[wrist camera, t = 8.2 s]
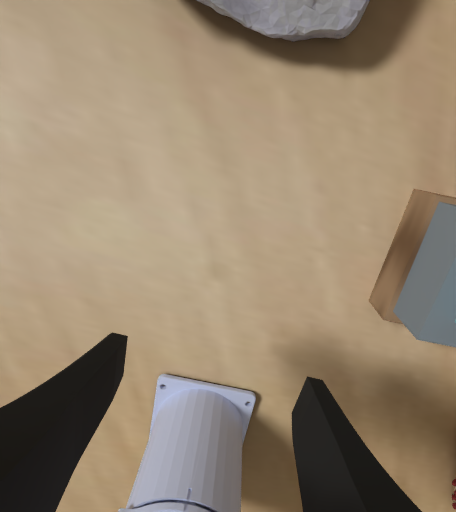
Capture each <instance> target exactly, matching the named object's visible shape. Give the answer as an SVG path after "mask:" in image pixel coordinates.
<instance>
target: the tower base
mask: <svg viewBox="0 0 456 512" xmlns="http://www.w3.org/2000/svg"><path fill="white" fill-rule="evenodd" d="M439 202H444V203H449V204H454V205H456V198H454V197H450V196H445V195H440V194H436V193H431V192H426V191H422V190H417V189H414V190H413V192H412V195H411V197H410V200H409V202H408V205H407V207H406V210H405V212H404V215H403V217H402V220H401V222H400V224H399V227H398V229H397V232H396V234H395V237H394V239H393V242H392V244H391V247H390V249H389V252H388V254H387V257H386V259H385V262H384V264H383V266H382V269H381V271H380V274H379V276H378V279H377V281H376V284H375V286H374V289H373V291H372V294H371V296H370V299H369V302H370V303H371V304H372V306H373V307H374V308H375V310H376V311H377V312H378V314H379V315H380V316H381V318H382V319H383V320H386V321H391V322H396V323H401V324H403V323H402V321H401V320H400V319H399V318H398V317H397V316H396V314H395V313H394V312H393V310H394V308H395V305H396V303H397V301H398V298H399V296H400V293H401V291H402V289H403V286H404V284H405V282H406V279H407V277H408V274H409V272H410V270H411V267H412V265H413V262H414V260H415V258H416V255H417V253H418V251H419V248H420V246H421V243H422V241H423V239H424V236H425V234H426V232H427V229H428V227H429V224H430V222H431V220H432V217H433V215H434V212H435V210H436V208H437V205H438V203H439Z"/></svg>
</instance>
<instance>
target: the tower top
mask: <svg viewBox="0 0 456 512" xmlns="http://www.w3.org/2000/svg"><path fill="white" fill-rule="evenodd" d="M393 312H394V313H395V314H396V316H397V317H398V318H399V319H400V320H401V321H402V323H403V324H404V325H405V326H406V327H407V329H408V330H409V331H410V332H411V333H412V334H413V336H414V337H415V338H416V339H417V340H422V341H427V342H432V343H437V344H442V345H447V346H452V347H456V323H455V320H456V205H454V204H449V203H444V202H439V203H438V205H437V208H436V210H435V212H434V215H433V217H432V220H431V222H430V224H429V227H428V229H427V232H426V234H425V236H424V239H423V241H422V243H421V246H420V248H419V251H418V253H417V255H416V258H415V260H414V262H413V265H412V267H411V270H410V272H409V274H408V277H407V279H406V282H405V284H404V286H403V289H402V291H401V293H400V296H399V298H398V301H397V303H396V305H395V308H394V310H393Z"/></svg>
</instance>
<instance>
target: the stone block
mask: <svg viewBox="0 0 456 512" xmlns="http://www.w3.org/2000/svg"><path fill="white" fill-rule="evenodd" d="M197 1H199V2H201V3H203V4H205V5H207V6H210V7H211V8H213V9H214V10H215V11H216V12H218V13H219V14H221V15H225V16H228V17H231V18H233V19H234V20H236V21H237V22H239V23H241V24H242V25H243V26H244V27H247V28H250V29H252V30H254V31H257V32H259V33H261V34H263V35H265V36H268V37H271V38H283V39H284V40H290V41H292V42H293V41H299V40H306V39H311V38H336V39H340V38H345V36H347V35H349V34H350V33H351V32H352V31H353V30H354V29H355V28H356V27H357V25H358V24H359V22H360V20H361V18H362V16H363V14H364V12H365V10H366V7H367V5H368V3H369V1H370V0H197Z"/></svg>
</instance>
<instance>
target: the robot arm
mask: <svg viewBox="0 0 456 512" xmlns="http://www.w3.org/2000/svg"><path fill="white" fill-rule="evenodd" d="M127 338H128V336H125V335H121V334H116V333H111V334H109V335H108V336H107V337H105V338H104V339H103V340H102V341H101V342H99V343H98V344H97V345H96V346H94V347H93V348H92V349H91V350H89V351H88V352H87V353H85V354H84V355H83V356H82V357H80V358H79V359H77V360H76V361H75V362H73V363H72V364H71V365H69V366H68V367H67V368H65V369H64V370H62V371H61V372H59V373H58V374H56V375H55V376H53V377H52V378H50V379H49V380H47V381H46V382H44V383H43V384H41V385H40V386H38V387H36V388H35V389H33V390H32V391H30V392H28V393H27V394H25V395H23V396H21V397H20V398H18V399H16V400H14V401H13V402H11V403H9V404H7V405H5V406H3V407H1V408H0V512H55V511H56V509H57V507H58V505H59V502H60V500H61V498H62V496H63V493H64V491H65V489H66V487H67V485H68V482H69V480H70V478H71V476H72V474H73V472H74V470H75V468H76V466H77V464H78V462H79V460H80V458H81V456H82V454H83V452H84V451H85V449H86V447H87V445H88V444H89V442H90V440H91V438H92V436H93V435H94V433H95V431H96V429H97V428H98V426H99V424H100V422H101V420H102V419H103V417H104V415H105V413H106V411H107V410H108V408H109V406H110V404H111V402H112V401H113V398H114V396H115V394H116V391H117V389H118V387H119V384H120V382H121V379H122V377H123V373H124V364H125V355H126V346H127ZM161 384H164V385H165V386H163V385H161ZM255 401H256V395H255V393H253V392H251V391H247V390H242V389H237V388H232V387H227V386H222V385H217V384H212V383H207V382H202V381H197V380H192V379H187V378H182V377H177V376H172V375H167V374H162V375H160V376H159V378H158V381H157V388H156V395H155V402H154V409H153V415H152V422H151V429H150V436H149V440H148V443H147V446H146V449H145V452H144V455H143V458H142V461H141V464H140V467H139V470H138V473H137V476H136V479H135V482H134V485H133V488H132V491H131V494H130V497H129V500H128V503H127V506H126V509H124V508H120V509H119V510H118V512H241V481H242V445H243V442H244V438H245V435H246V431H247V428H248V425H249V421H250V418H251V414H252V411H253V408H254V404H255ZM247 402H250V403H247ZM292 437H293V446H294V453H295V460H296V467H297V473H298V480H299V486H300V493H301V499H302V506H303V512H422V511H421V510H420V509H419V508H418V507H417V506H416V505H415V504H414V503H413V502H412V501H411V500H410V499H409V497H408V496H407V495H406V494H405V493H404V492H403V491H402V490H401V489H400V487H399V486H398V485H397V484H396V483H395V481H394V480H393V479H392V478H391V477H390V475H389V474H388V473H387V472H386V471H385V470H384V468H383V467H382V466H381V465H380V463H379V462H378V461H377V459H376V458H375V457H374V456H373V454H372V453H371V452H370V450H369V449H368V447H367V446H366V445H365V443H364V442H363V441H362V439H361V438H360V436H359V435H358V434H357V432H356V431H355V429H354V428H353V426H352V425H351V423H350V422H349V421H348V419H347V418H346V416H345V414H344V413H343V411H342V410H341V408H340V407H339V405H338V404H337V402H336V401H335V399H334V397H333V396H332V394H331V393H330V391H329V389H328V388H327V386H326V385H325V383H324V382H323V380H320V379H316V378H311V377H307V379H306V381H305V383H304V386H303V388H302V390H301V393H300V395H299V397H298V400H297V402H296V404H295V406H294V409H293V411H292Z"/></svg>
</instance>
